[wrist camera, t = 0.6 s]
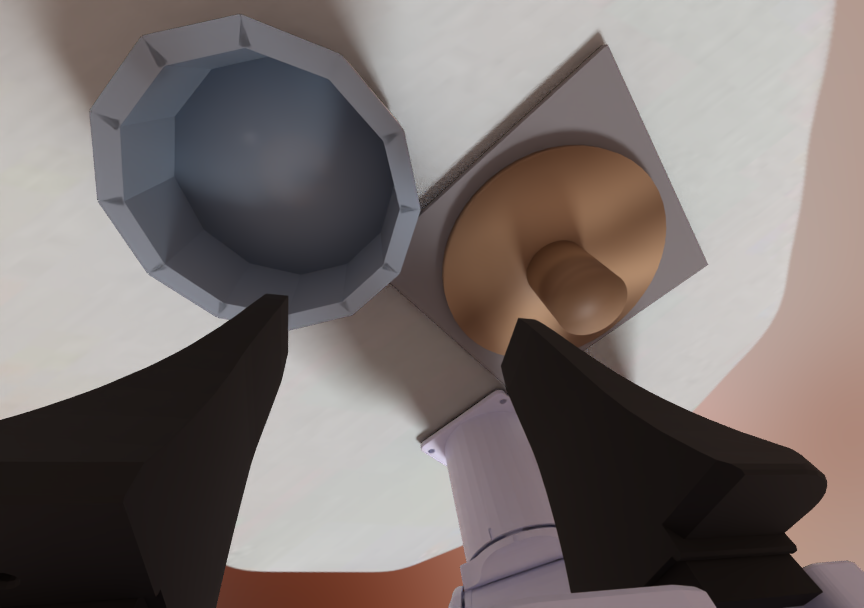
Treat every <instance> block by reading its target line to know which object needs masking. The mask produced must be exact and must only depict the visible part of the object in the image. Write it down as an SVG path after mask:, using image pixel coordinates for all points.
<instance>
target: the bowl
mask: <svg viewBox="0 0 864 608" xmlns="http://www.w3.org/2000/svg"><path fill="white" fill-rule="evenodd" d="M142 36H143V37H142ZM142 36H141V37H140V38H139V40H138V41H137V43H136V44H135V46H134V47H133V48H132V50H131V51H130V53H129V54H128V56H127V57H126V59H125V60H124V61H123V63H122V64H121V66H120V67H119V69H118V70H117V71H116V73H115V74H114V76H113V77H112V79H111V80H110V82H109V83H108V84H107V86H106V87H105V89H104V90H103V92H102V93H101V94H100V96H99V97H98V99H97V100H96V102H95V103H94V105H93V106H92V107H91V109H90V111H89V112H90V124H91V135H92V147H93V158H94V169H95V181H96V192H97V200H99V201H98V202H99V204H100V205H101V207H102V208H103V210H104V211H105V213H106V214H107V216H108V217H109V218H110V220H111V221H112V223H113V224H114V226H115V227H116V229H117V230H118V232H119V233H120V234H121V236H122V237H123V239H124V240H125V242H126V243H127V245H128V246H129V248H130V249H131V250H132V252H133V253H134V255H135V256H136V258H137V259H138V261H139V262H140V264H141V265H142V266H143V268H144V269H145V271H146V272H147V273H149V274H148V275H150V276H152V277H153V278H155V279H156V280H158V281H160V282H161V283H163V284H164V285H166V286H168V287H169V288H171V289H172V290H174V291H176V292H177V293H179V294H180V295H182V296H183V297H185V298H187V299H188V300H190V301H191V302H193V303H195V304H196V305H198V306H199V307H201V308H203V309H204V310H206V311H207V312H209V313H211V314H212V315H214V316H215V317H217V316H218V318H222V319H227V320H230V319H232V318H233V317H234V316H236V315H237V314H239V313H240V312H241V311H243V310H244V309H245V308H247V307H248V306H249V305H251V304H252V303H253V302H255V301H256V300H258V299H259V298H260V297H262V296H263V295H265V294H277V295H287V296H288V330H293V329H298V328H302V327H306V326H310V325H314V324H318V323H322V322H327V321H331V320H335V319H339V318H343V317H347V316H351V315H353V314H355V313H356V312H357V311H358V310H359V309H360V308H361V307H363V306H364V305H365V304H366V303H367V302H368V301H369V300H370V299H372V298H373V297H374V296H375V295H376V294H377V293H378V292H380V291H381V290H382V289H383V288H384V287H385V286H386V285H388V284H389V283H390V282H391V281H392V280H393V279H394V278H396V277H397V276H398V275H399V273H400V272H401V268H402V265H403V262H404V259H405V256H406V253H407V250H408V247H409V244H410V241H411V238H412V235H413V232H414V229H415V226H416V223H417V220H418V216H419V213H420V209H421V208H420V204H419V199H418V194H417V189H416V185H415V180H414V175H413V171H412V166H411V161H410V156H409V152H408V147H407V142H406V138H405V133H404V130H403V128H402V127H401V125H400V124H399V122H398V121H397V119H396V118H395V117H394V116H393V115H392V113H391V112H390V111H389V110H388V109H387V107H386V106H385V105H384V104H383V103H382V101H381V100H380V99H379V98H378V97H377V95H376V94H375V93H374V92H373V90H372V89H371V88H370V87H369V86H368V85H367V83H366V82H365V81H364V80H363V79H362V77H361V76H360V75H359V74H358V73H357V71H356V70H355V69H354V68H353V66H352V65H351V64H350V63H349V62H348V60H346V59H345V58H344V57H343V56H342V55H341V54H339V53H337V52H334V51H332V50H329V49H327V48H324V47H322V46H319V45H317V44H314V43H312V42H309V41H307V40H304V39H302V38H299V37H297V36H294V35H292V34H289V33H287V32H284V31H282V30H279V29H277V28H274V27H272V26H269V25H267V24H264V23H262V22H259V21H257V20H254V19H252V18H249V17H247V16H244V15H242V14H241V15H240V14H237V15H232V16H228V17H223V18H219V19H214V20H210V21H205V22H201V23H196V24H192V25H187V26H183V27H178V28H174V29H169V30H165V31H160V32H156V33H151V34H147V35H142Z"/></svg>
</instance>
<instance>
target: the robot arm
mask: <svg viewBox="0 0 864 608" xmlns="http://www.w3.org/2000/svg"><path fill="white" fill-rule="evenodd" d="M287 355H288V296H287V295H277V294H265V295H263V296H262V297H260V298H259V299H258V300H256V301H255V302H253V303H252V304H251V305H249V306H248V307H247V308H245V309H244V310H243V311H241V312H240V313H239V314H237V315H236V316H234V317H233V318H232V319H230V320H229V321H227V322H226V323H224V324H223V325H222V326H220V327H219V328H217V329H215V330H214V331H212V332H211V333H209V334H207V335H206V336H204V337H203V338H201V339H199V340H198V341H196V342H195V343H193V344H191V345H190V346H188V347H186V348H184V349H182V350H181V351H179V352H177V353H175V354H173V355H171V356H169V357H167V358H165V359H163V360H161V361H159V362H157V363H155V364H153V365H151V366H149V367H147V368H144V369H142V370H140V371H137V372H135V373H133V374H130V375H128V376H125V377H123V378H121V379H118V380H116V381H114V382H111V383H109V384H107V385H104V386H102V387H99V388H96V389H94V390H91V391H88V392H86V393H83V394H80V395H77V396H75V397H72V398H69V399H66V400H63V401H60V402H57V403H54V404H51V405H48V406H45V407H42V408H39V409H36V410H33V411H30V412H26V413H23V414H20V415H16V416H13V417H9V418H6V419H2V420H0V608H216V605H217V601H218V596H219V592H220V587H221V583H222V579H223V575H224V570H225V566H226V562H227V558H228V553H229V549H230V545H231V541H232V537H233V533H234V529H235V525H236V521H237V517H238V513H239V509H240V505H241V501H242V497H243V493H244V489H245V485H246V481H247V478H248V474H249V470H250V466H251V463H252V460H253V457H254V454H255V451H256V448H257V445H258V442H259V440H260V437H261V434H262V432H263V429H264V426H265V424H266V421H267V418H268V416H269V413H270V411H271V408H272V405H273V403H274V400H275V397H276V395H277V392H278V389H279V386H280V384H281V381H282V377H283V372H284V368H285V364H286V359H287ZM501 369H502V374H503V378H504V382H505V385H506V389H507V392H508V395H509V396H508V395H507V394H506V393H505V392H504V391H502V390H496V391H494V392H493V393H491V394H490V395H488V396H487V397H486V398H484V399H483V400H481V401H480V402H479V403H477V404H476V405H474V406H473V407H471V408H470V409H469V410H467V411H466V412H464V413H463V414H462V415H460V416H459V417H457V418H456V419H454V420H453V421H452V422H450V423H449V424H447V425H446V426H445V427H443V428H442V429H440V430H439V431H438V432H436V433H435V434H433V435H432V436H430V437H429V438H428V439H426V440H425V441H423V442H422V443H421V445H420V446H421V450H422V451H423V452H424V453H426V454H428V455H429V456H431V457H432V458H434V459H436V460H437V461H439V462H440V463H442V464H444V465H445V466H447V467H448V472H449V477H450V482H451V487H452V492H453V497H454V502H455V507H456V512H457V517H458V521H459V526H460V531H461V536H462V541H463V546H464V551H465V556H466V560H467V563H465V564H463V565H461V566H460V570H461V575H462V581H463V586H460V587H457V588H456V589H455V590H454V592H453V594H452V599H451V602H450V604H449V607H448V608H864V572H863V571H862V570H861V569H860V568H859V567H858V566H857V565H856V564H855V563H854V562H851V561H835V562H822V563H815V564H810V565H808V566H805V567H803V568H802V567H801V566H800V565H799V564H798V563H797V562H796V561H795V560H794V559H793V557H792V556H791V555H790V554H793V553H794V552H796V551H797V548H796V545H795V544H794V543H793V542H792V541H791V540H790V539H789V538H788V536H787V535H786V534H785V532H786V531H787V530H788V529H789V528H791V527H792V526H793V525H794V524H795V523H796V522H798V521H799V520H800V519H801V518H802V517H803V516H805V515H806V514H807V513H808V512H809V511H810V510H812V509H813V508H814V507H815V506H816V505H817V504H818V503H819V501H820V500H821V499H822V497H823V496H824V494H825V493H826V488H827V480H826V477H825V475H824V474H823V473H822V472H820V471H819V470H818V469H817V468H816V467H815V466H814V465H812V464H811V463H810V462H809V461H808V460H807V459H805V458H804V457H803V456H802V455H800V454H799V453H797V452H796V451H794V450H792V449H790V448H787V447H784V446H781V445H778V444H775V443H772V442H770V441H767V440H763V439H761V438H757V437H755V436H752V435H749V434H746V433H743V432H740V431H737V430H735V429H732V428H730V427H727V426H725V425H722V424H719V423H717V422H714V421H712V420H709V419H707V418H704V417H702V416H700V415H697V414H695V413H693V412H690V411H688V410H686V409H684V408H682V407H680V406H678V405H675V404H673V403H671V402H669V401H667V400H665V399H663V398H661V397H659V396H657V395H655V394H653V393H651V392H649V391H647V390H645V389H644V388H642V387H640V386H638V385H636V384H634V383H633V382H631V381H629V380H627V379H626V378H624V377H622V376H620V375H619V374H617V373H616V372H614V371H612V370H611V369H609V368H608V367H606V366H605V365H603V364H601V363H600V362H598V361H597V360H595V359H594V358H592V357H591V356H589V355H588V354H586V353H585V352H584V351H582V350H581V349H579V348H578V347H576V346H575V345H574V344H572V343H571V342H569V341H568V340H566V339H565V338H564V337H562V336H561V335H559V334H558V333H556V332H555V331H553V330H552V329H550V328H549V327H547V326H546V325H544V324H543V323H541V322H539V321H537V320H535V319H526V318H518V320H517V322H516V325H515V328H514V331H513V333H512V336H511V339H510V342H509V344H508V347H507V350H506V353H505V355H504V358H503V361H502V364H501ZM502 399H503V400H502Z"/></svg>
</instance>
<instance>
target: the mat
mask: <svg viewBox="0 0 864 608" xmlns="http://www.w3.org/2000/svg"><path fill="white" fill-rule="evenodd" d="M564 145H586V146H594V147H599V148H602V149H606V150H609V151H612V152H615V153H619V154H621V155H623V156H624V157H626V158H628V159H630V160H632V161H633V162H635V163H636V164H637V165H638V166H640V167H641V168H642V169H643V170H644V171H645V172H646V173H647V174H648V175H649V177H650V178H651V179H652V180H653V182H654V184H655V185H656V187H657V189H658V191H659V193H660V196H661V198H662V201H663V205H664V209H665V214H666V238H665V245H664V250H663V254H662V258H661V260H660V263H659V266H658V269H657V271H656V273H655V275H654V277H653V279H652V281H651V283H650V285H649V286H648V288H647V290H646V291H645V293H644V294H643V296H642V297H641V298H640V300H639V301H638V302H637V304H636V305H635V306H634V307H633V308H632V309H631V310H630V311H629V313H628V314H627V315H626V316H625V317H624V318H622V319H621V320H620V321H619V322H618V323H617V324H616V325H615V326H613V327H612V328H611V329H609V330H608V331H607V332H605V333H604V334H602V335H601V336H599V337H598V338H596V339H594V340H593V341H591V342H589V343H587V344H585V345H583V346H581V347H578V348H579V349H581V350H582V351H584V350H585V349H587V348H588V347H590V346H591V345H593V344H594V343H595V342H597V341H598V340H600V339H601V338H603V337H604V336H606V335H607V334H608V333H610V332H611V331H613V330H614V329H616V328H617V327H619V326H620V325H622V324H623V323H624V322H626V321H627V320H629V319H630V318H632V317H633V316H635V315H636V314H637V313H639V312H640V311H642V310H643V309H645V308H646V307H648V306H649V305H651V304H652V303H653V302H655V301H656V300H658V299H659V298H661V297H662V296H664V295H665V294H666V293H668V292H669V291H671V290H672V289H674V288H675V287H677V286H678V285H680V284H681V283H682V282H684V281H685V280H687V279H688V278H690V277H691V276H693V275H694V274H695V273H697V272H698V271H700V270H701V269H703V268H704V267H706V266H707V265H708V263H707V261H706V259H705V257H704V255H703V252H702V250H701V248H700V246H699V244H698V241H697V239H696V237H695V235H694V233H693V230H692V228H691V226H690V224H689V222H688V220H687V217H686V215H685V213H684V211H683V209H682V206H681V204H680V202H679V200H678V198H677V195H676V193H675V191H674V189H673V187H672V184H671V182H670V180H669V178H668V176H667V174H666V171H665V169H664V167H663V165H662V163H661V160H660V158H659V156H658V154H657V152H656V149H655V147H654V145H653V143H652V141H651V138H650V136H649V134H648V132H647V130H646V128H645V125H644V123H643V121H642V119H641V117H640V114H639V112H638V110H637V108H636V106H635V103H634V101H633V99H632V97H631V95H630V92H629V90H628V88H627V86H626V84H625V82H624V79H623V77H622V75H621V73H620V71H619V68H618V66H617V64H616V62H615V60H614V57H613V55H612V53H611V51H610V49H609V46H608V45H602V46H601V47H599V48H598V49H597V50H596V51H595V52H594V53H593V54H592V55H591V56H590V57H589V58H587V59H586V60H585V61H584V62H583V63H582V64H581V65H580V66H579V67H578V68H577V69H575V70H574V71H573V72H572V73H571V74H570V75H569V76H568V77H567V78H566V79H565V80H563V81H562V82H561V83H560V84H559V85H558V86H557V87H556V88H555V89H554V90H553V91H551V92H550V93H549V94H548V95H547V96H546V97H545V98H544V99H543V100H542V101H541V102H539V103H538V104H537V105H536V106H535V107H534V108H533V109H532V110H531V111H530V112H529V113H527V114H526V115H525V116H524V117H523V118H522V119H521V120H520V121H519V122H518V123H517V124H515V125H514V126H513V127H512V128H511V129H510V130H509V131H508V132H507V133H506V134H505V135H503V136H502V137H501V138H500V139H499V140H498V141H497V142H496V143H495V144H494V145H493V146H491V147H490V148H489V149H488V150H487V151H486V152H485V153H484V154H483V155H482V156H481V157H479V158H478V159H477V160H476V161H475V162H474V163H473V164H472V165H471V166H470V167H469V168H467V169H466V170H465V171H464V172H463V173H462V174H461V175H460V176H459V177H458V178H457V179H455V180H454V181H453V182H452V183H451V184H450V185H449V186H448V187H447V188H446V189H445V190H443V191H442V192H441V193H440V194H439V195H438V196H437V197H436V198H435V199H434V200H433V201H431V202H430V203H429V204H428V205H427V206H426V207H425V208H424V209H423V210H422V211H421V212H420V213H419V216H418V220H417V223H416V226H415V229H414V232H413V235H412V238H411V241H410V244H409V247H408V250H407V253H406V256H405V259H404V262H403V265H402V268H401V272H400V273H399V275H398V276H397V277H396V278H394V279H393V280H392V281H391V282H390V283H391V284H392V285H393V286H394V287H395V288H396V289H397V290H398V291H400V292H401V293H402V294H403V295H404V296H405V297H406V298H407V299H409V300H410V301H411V302H412V303H413V304H414V305H415V306H416V307H418V308H419V309H420V310H421V311H422V312H423V313H424V314H425V315H427V316H428V317H429V318H430V319H431V320H432V321H433V322H434V323H436V324H437V325H438V326H439V327H440V328H441V329H442V330H443V331H445V332H446V333H447V334H448V335H449V336H450V337H451V338H452V339H454V340H455V341H456V342H457V343H458V344H459V345H460V346H461V347H463V348H464V349H465V350H466V351H467V352H468V353H469V354H470V355H472V356H473V357H474V358H475V359H476V360H477V361H478V362H479V363H481V364H482V365H483V366H484V367H485V368H486V369H487V370H488V371H490V372H491V373H492V374H493V375H494V376H495V377H496V378H497V379H499V380H500V381H501V382H502V383H503V384H504V385H505V382H504V378H503V374H502V369H501V364H502V361H503V358H504V355H500V354H497V353H494V352H492V351H489V350H487V349H485V348H483V347H482V346H480V345H478V344H477V343H475V342H474V341H473V340H472V339H470V338H469V337H468V336H467V335H466V334H465V333H464V332H463V330H462V329H461V328H460V327H459V325H458V324H457V322H456V321H455V319H454V317H453V315H452V313H451V311H450V308H449V306H448V303H447V300H446V296H445V293H444V287H443V279H442V266H443V258H444V252H445V248H446V244H447V241H448V238H449V235H450V232H451V230H452V228H453V226H454V224H455V221H456V220H457V218H458V216H459V215H460V213H461V211H462V210H463V208H464V206H465V205H466V204H467V203H468V201H469V200H470V199H471V197H472V196H473V195H474V194H475V193H476V192H477V191H478V190H479V188H480V187H481V186H482V185H483V184H484V183H485V182H486V181H487V180H489V179H490V178H491V177H493V176H494V175H495V174H496V173H498V172H499V171H500V170H501V169H503V168H505V167H506V166H508V165H510V164H511V163H513V162H514V161H516V160H518V159H520V158H523V157H525V156H527V155H529V154H531V153H534V152H537V151H541V150H544V149H547V148H551V147H557V146H564ZM505 386H506V385H505Z"/></svg>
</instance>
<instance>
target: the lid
mask: <svg viewBox="0 0 864 608" xmlns="http://www.w3.org/2000/svg"><path fill="white" fill-rule="evenodd" d="M665 238H666V214H665V209H664V205H663V201H662V198H661V196H660V193H659V191H658V189H657V187H656V185H655V184H654V182H653V180H652V179H651V178H650V177H649V175H648V174H647V173H646V172H645V171H644V170H643V169H642V168H641V167H640V166H638V165H637V164H636V163H635V162H633V161H632V160H630V159H628V158H626V157H624V156H623V155H621V154H619V153H615V152H612V151H609V150H606V149H602V148H599V147H594V146H586V145H564V146H557V147H551V148H547V149H544V150H541V151H537V152H534V153H531V154H529V155H527V156H525V157H523V158H520V159H518V160H516V161H514V162H513V163H511V164H510V165H508V166H506V167H505V168H503V169H501V170H500V171H499V172H498V173H496V174H495V175H494V176H493V177H491V178H490V179H489V180H487V181H486V182H485V183H484V184H483V185H482V186H481V187H480V188H479V190H478V191H477V192H476V193H475V194H474V195H473V196H472V197H471V199H470V200H469V201H468V203H467V204H466V205H465V206H464V208H463V210H462V211H461V213H460V215H459V216H458V218H457V220H456V221H455V224H454V226H453V228H452V230H451V232H450V235H449V238H448V241H447V244H446V248H445V252H444V258H443V266H442V279H443V287H444V293H445V296H446V300H447V303H448V306H449V308H450V311H451V313H452V315H453V317H454V319H455V321H456V322H457V324H458V325H459V327H460V328H461V329H462V330H463V332H464V333H465V334H466V335H467V336H468V337H469V338H470V339H472V340H473V341H474V342H475V343H477V344H478V345H480V346H482V347H483V348H485V349H487V350H489V351H492V352H494V353H497V354H500V355H505V353H506V350H507V347H508V344H509V342H510V339H511V336H512V333H513V331H514V328H515V325H516V322H517V320H518V318H526V319H535V320H537V321H539V322H541V323H543V324H544V325H546V326H547V327H549V328H550V329H552V330H553V331H555V332H556V333H558V334H559V335H561V336H562V337H564V338H565V339H566V340H568V341H569V342H571V343H572V344H574V345H575V346H576V347H581V346H583V345H585V344H587V343H589V342H591V341H593V340H594V339H596V338H598V337H599V336H601V335H602V334H604V333H605V332H607V331H608V330H609V329H611V328H612V327H613V326H615V325H616V324H617V323H618V322H619V321H620V320H621V319H622V318H624V317H625V316H626V315H627V314H628V313H629V311H630V310H631V309H632V308H633V307H634V306H635V305H636V304H637V302H638V301H639V300H640V298H641V297H642V296H643V294H644V293H645V291H646V290H647V288H648V286H649V285H650V283H651V281H652V279H653V277H654V275H655V273H656V271H657V269H658V266H659V263H660V260H661V258H662V254H663V250H664V245H665Z"/></svg>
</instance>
